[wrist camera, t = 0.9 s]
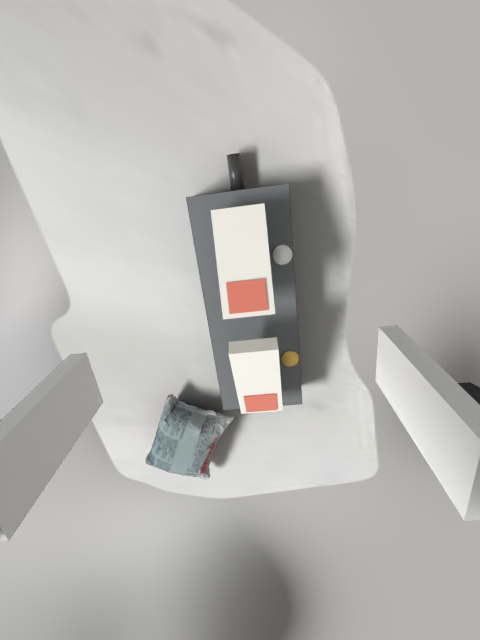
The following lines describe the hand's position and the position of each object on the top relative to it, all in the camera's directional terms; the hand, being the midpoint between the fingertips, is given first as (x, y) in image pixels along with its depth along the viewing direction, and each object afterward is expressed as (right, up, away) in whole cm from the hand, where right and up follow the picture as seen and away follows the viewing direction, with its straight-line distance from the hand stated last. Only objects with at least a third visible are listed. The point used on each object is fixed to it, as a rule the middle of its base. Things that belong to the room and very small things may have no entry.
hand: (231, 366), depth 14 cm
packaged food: (-6, -12, +28) cm, 31 cm away
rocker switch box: (+1, +5, +20) cm, 21 cm away
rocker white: (+1, +7, +13) cm, 15 cm away
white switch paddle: (+2, -3, +17) cm, 18 cm away
